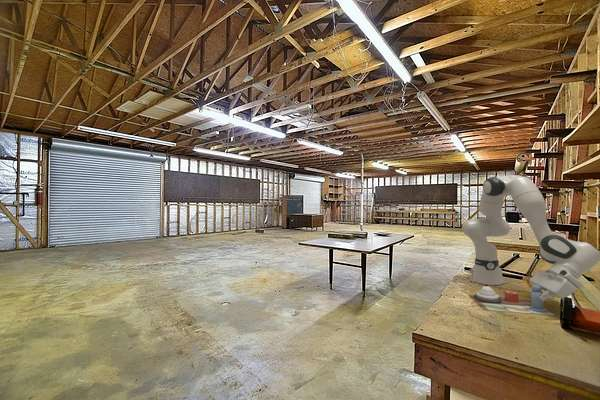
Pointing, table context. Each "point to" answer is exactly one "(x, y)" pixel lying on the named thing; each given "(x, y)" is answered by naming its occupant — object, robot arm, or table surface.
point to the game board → (507, 306)
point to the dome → (487, 293)
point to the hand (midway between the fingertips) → (535, 296)
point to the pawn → (536, 299)
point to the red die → (511, 296)
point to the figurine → (528, 282)
